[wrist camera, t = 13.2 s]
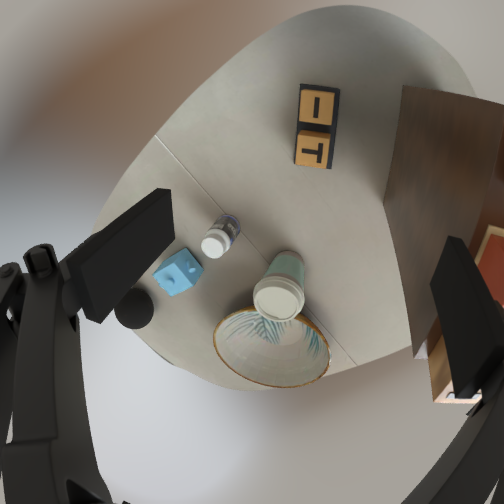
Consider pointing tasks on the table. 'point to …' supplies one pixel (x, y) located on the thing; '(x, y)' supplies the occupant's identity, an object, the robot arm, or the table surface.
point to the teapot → (178, 272)
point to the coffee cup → (281, 288)
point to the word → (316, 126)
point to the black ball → (134, 309)
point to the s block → (494, 267)
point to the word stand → (442, 204)
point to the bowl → (272, 348)
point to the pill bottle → (220, 236)
